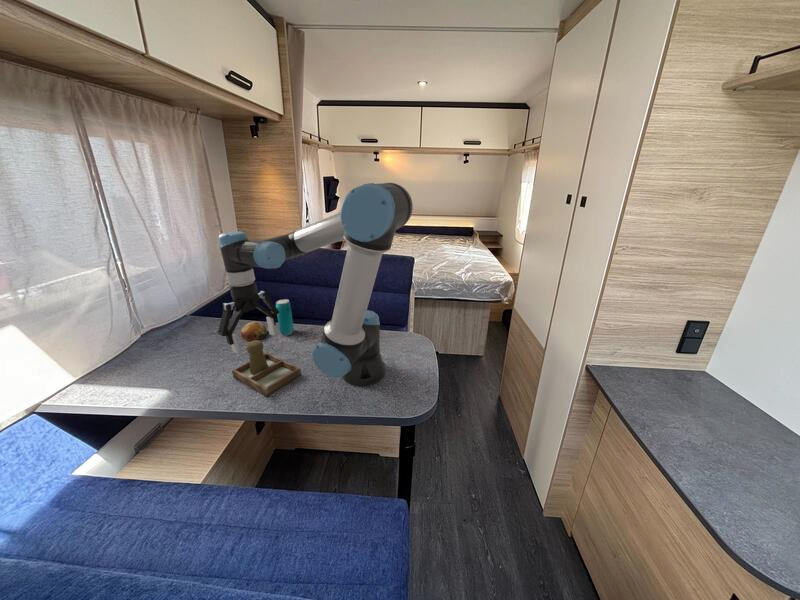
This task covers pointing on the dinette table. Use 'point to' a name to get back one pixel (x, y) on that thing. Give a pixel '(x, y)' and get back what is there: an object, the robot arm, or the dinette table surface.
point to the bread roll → (253, 331)
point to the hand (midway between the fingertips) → (255, 342)
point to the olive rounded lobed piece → (256, 357)
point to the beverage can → (285, 317)
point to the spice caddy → (268, 375)
